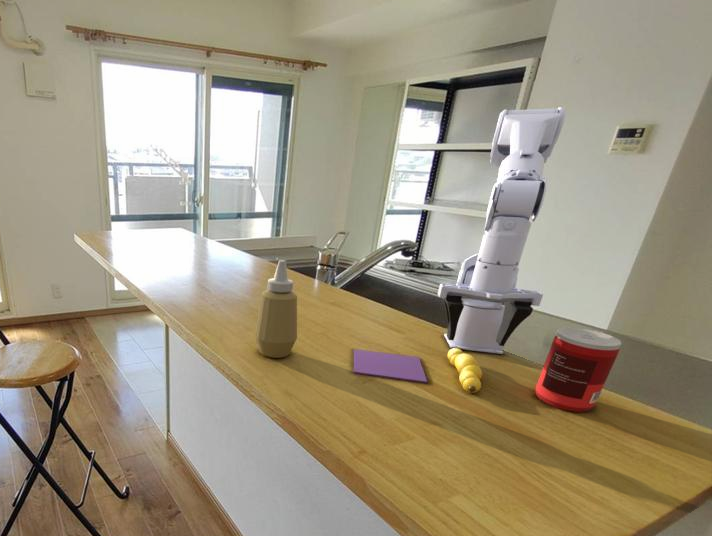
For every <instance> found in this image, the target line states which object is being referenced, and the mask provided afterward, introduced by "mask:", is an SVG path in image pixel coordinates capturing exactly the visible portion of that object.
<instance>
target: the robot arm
mask: <svg viewBox="0 0 712 536" xmlns="http://www.w3.org/2000/svg"><path fill="white" fill-rule="evenodd" d="M566 114H567V111H566V109H565V107H564V106H560V107H558V108H534V109H509V110H508V109H506V108H505V109H503V111H501V112H500V113H499V116H498V119H497V123H496V128H495V131H494V136H493V139H492V144H491V146H492V147H491V149H490V150H491V151H490V155H489V157H490V161H489V163H490V164H492V165H493V166H494V167H496V168H497V169H498V177H497V181H496V183H495V184H494V185H493V187H492V190H491V194H490V197H489V201H488V205H487V210H486V219H485V225H484V229H483V231H484V233H483V236H482V239H481V243H480V246H479V251H478V253H476V254H474V255H472V256H470V257H468V258H465V260H464V261H463V262H462V263H461V267H460V270H459V273H458V276H457V280H456V283H455V284H454V283H439V286H438V290H437V296H438V298H441V299H442V301H443V304H444V309H445V313H446V320H447V325H446V326H447V331H446V333H444V334H443V337H444V338H445V340H446V342H447V344H448V345H449V348H450V349H453V348H458V349H460V350H462V351H463V350H465V351H473V352H481V353H488V354H497V355H498V354H499V355H503V354H504V351H503V349H504V346H505V345H506V343H507V341H508V340H509V338H510V337H511V335H512V334H513V332H514V331H515V330H516V329H517V328H518V327H519V326H520V325H521V324H522V322H524V321H525V320H526V319H527V318H528V317H530V316H531V315H532V313H533V311H534V307H532V306H535V307H540V305H541V302H542V300H543V297H544V294H543V293H542V292H540V291H538V290H528V289H521V288H516V287H517V282H518V274H519V270H520V268H519V266H520V262H521V258H522V256H523V252H524V249H525V246H526V243H527V239H528V236H529V232H530V230H531V226H532V222H535V221H536V220H537V218H538V216H539V214H540V212H541V209H542V206H543V203H544V200H545V197H546V192H547V179H546V177H543V172H544V166H545V164H547V161H548V159H549V158H550V156H551V155H552V153H553V151H554V150H553V149H554V147H555V145H556V144H557V142H558V141H559V138H560V135H561V132H562V129H563V126H564V122H565V118H566ZM531 218H532V222H531V221H530V219H531Z"/></svg>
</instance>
